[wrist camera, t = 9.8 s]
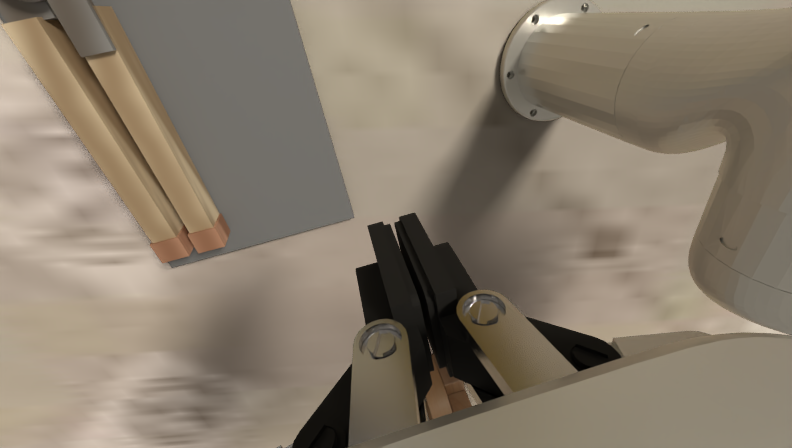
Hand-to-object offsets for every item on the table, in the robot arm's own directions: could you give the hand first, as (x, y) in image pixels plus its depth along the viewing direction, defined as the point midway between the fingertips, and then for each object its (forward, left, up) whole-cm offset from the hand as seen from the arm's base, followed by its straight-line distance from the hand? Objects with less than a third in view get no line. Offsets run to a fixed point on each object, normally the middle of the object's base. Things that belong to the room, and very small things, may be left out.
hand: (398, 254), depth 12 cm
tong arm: (+19, -2, -28) cm, 34 cm away
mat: (+13, -2, -29) cm, 32 cm away
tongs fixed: (+20, -2, -28) cm, 34 cm away
